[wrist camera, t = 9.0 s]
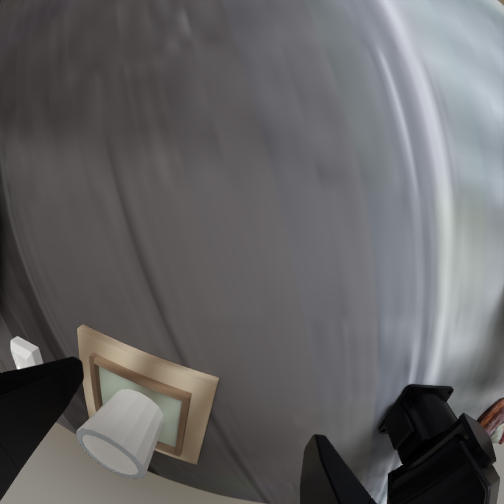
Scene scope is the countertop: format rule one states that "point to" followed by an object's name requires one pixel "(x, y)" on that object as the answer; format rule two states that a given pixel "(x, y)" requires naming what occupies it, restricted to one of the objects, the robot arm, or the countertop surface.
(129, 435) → the white tapered cylinder
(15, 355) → the soap bar
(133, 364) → the board
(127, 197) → the countertop surface
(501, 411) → the pastry
